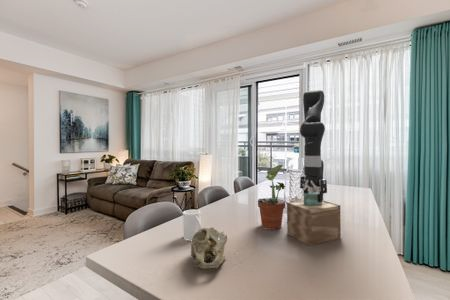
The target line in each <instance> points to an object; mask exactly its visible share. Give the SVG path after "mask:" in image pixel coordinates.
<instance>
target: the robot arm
mask: <svg viewBox="0 0 450 300" xmlns="http://www.w3.org/2000/svg"><path fill="white" fill-rule="evenodd" d="M302 101H303V102H302V103H303V104H302V105H303V116H304V117H303V118H304V120H303V122H302V123H301V126H300V128H299V129H300V130H299V132H300V135H301V137H302V138H304V159H303V174H304V175H303V176H302V175H301V176H300V179H299V181H300V183H299V188H300V189H301V190H303V195H304V194H307V193H315V192H317V193H318V194H317V198H318V202H319V203H320V202H322V201H324V195H325V194H328V188H327V187H328V186H327V182H328V181H327V179H324V169H325V168H324V161H323V159H322V154H321V153H322V150H321V148H322V147H321V146H322V142H323V141H322V140H323V138H324V134H325V130H326V127H325V124H324V123H323V122H321V121H322V112H323V108H324V105H325V93H324V91H323V90H320V89H318V90H308V91H307V90H306V91H304V93H303V96H302Z"/></svg>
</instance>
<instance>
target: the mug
mask: <svg viewBox="0 0 450 300" xmlns="http://www.w3.org/2000/svg"><path fill="white" fill-rule="evenodd" d="M201 216H202V215H201V211H200V210H199V209H187V210H184V211H183V212H182V225H183V226H182V227H183V228H182V229H183V231H182V233H183V235H182V238H183V237H184V238H185V239H189V240H192V238H193V236H194V235H195V233H196V232H197V231H198V230H200V229H202V225H201V221H202V219H201V218H202V217H201Z"/></svg>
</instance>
